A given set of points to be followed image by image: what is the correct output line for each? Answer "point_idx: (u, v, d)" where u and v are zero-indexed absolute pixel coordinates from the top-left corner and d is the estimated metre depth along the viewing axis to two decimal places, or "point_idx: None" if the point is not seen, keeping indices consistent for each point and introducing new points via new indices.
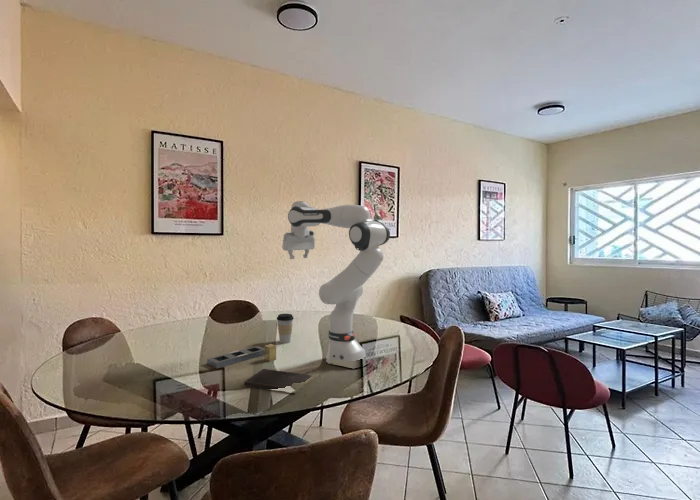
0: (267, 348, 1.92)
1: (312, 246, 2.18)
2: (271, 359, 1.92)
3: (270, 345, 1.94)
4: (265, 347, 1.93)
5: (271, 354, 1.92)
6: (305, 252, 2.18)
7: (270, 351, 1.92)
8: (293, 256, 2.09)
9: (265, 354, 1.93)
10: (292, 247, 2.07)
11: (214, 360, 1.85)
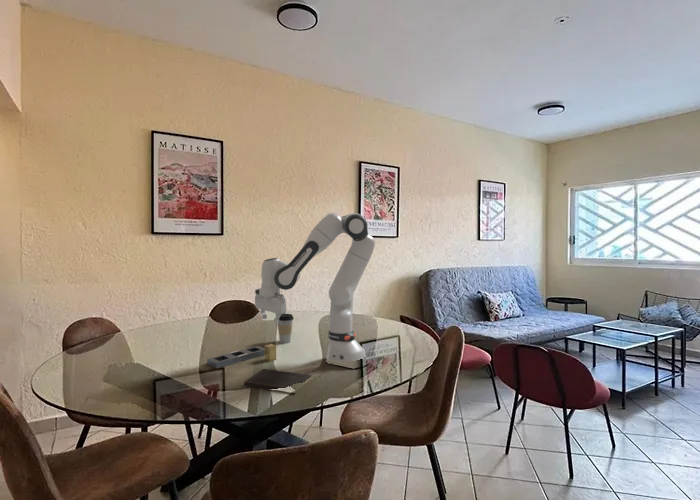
0: (267, 348, 1.92)
1: None
2: (271, 359, 1.92)
3: (270, 345, 1.94)
4: (265, 347, 1.93)
5: (271, 354, 1.92)
6: (262, 312, 1.96)
7: (270, 351, 1.92)
8: None
9: (265, 354, 1.93)
10: None
11: (214, 360, 1.85)
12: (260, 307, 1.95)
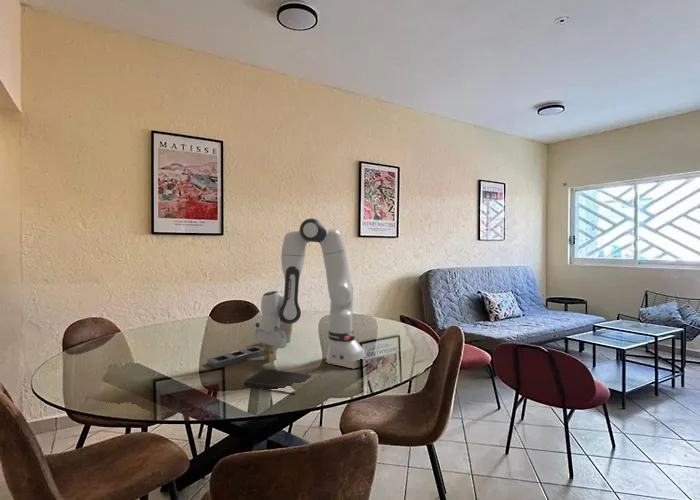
0: (267, 348, 1.92)
1: None
2: (271, 359, 1.92)
3: (270, 345, 1.94)
4: (265, 347, 1.93)
5: (271, 354, 1.92)
6: None
7: (270, 351, 1.92)
8: None
9: (265, 354, 1.93)
10: None
11: (214, 360, 1.85)
12: (260, 340, 1.96)
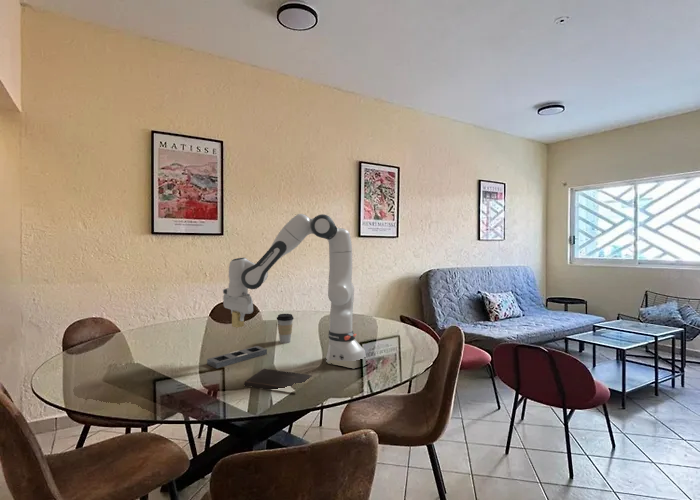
0: (235, 314, 1.91)
1: None
2: (238, 325, 1.92)
3: None
4: (233, 313, 1.93)
5: (238, 320, 1.91)
6: None
7: (237, 317, 1.91)
8: None
9: (232, 320, 1.93)
10: None
11: (214, 360, 1.85)
12: (228, 307, 1.95)
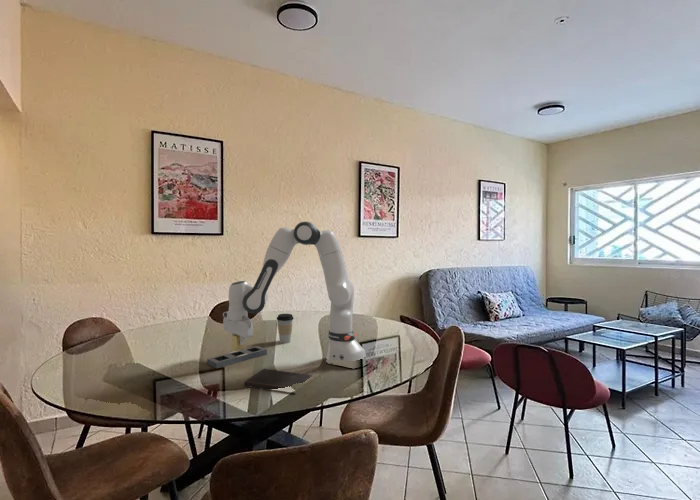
0: (235, 338, 1.92)
1: None
2: (238, 348, 1.92)
3: None
4: (233, 337, 1.93)
5: (238, 343, 1.92)
6: None
7: (237, 341, 1.92)
8: None
9: (233, 344, 1.94)
10: None
11: (214, 360, 1.85)
12: (228, 330, 1.96)
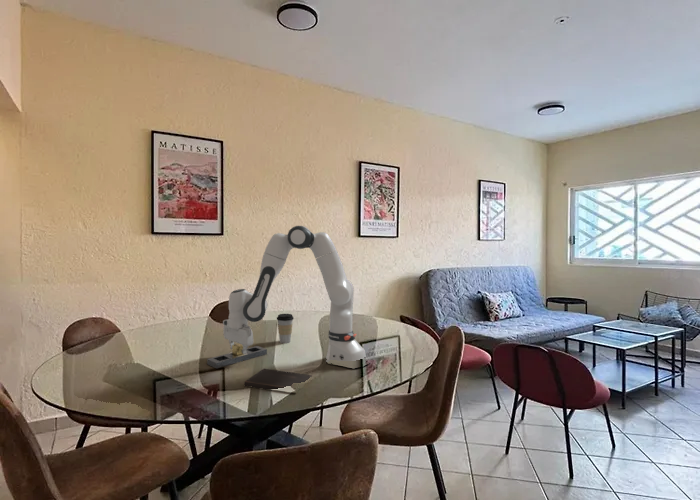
0: (235, 348, 1.92)
1: None
2: None
3: (238, 344, 1.95)
4: (233, 346, 1.94)
5: (238, 353, 1.92)
6: (230, 343, 1.97)
7: (237, 350, 1.92)
8: None
9: (233, 353, 1.94)
10: None
11: (214, 360, 1.85)
12: (228, 338, 1.96)
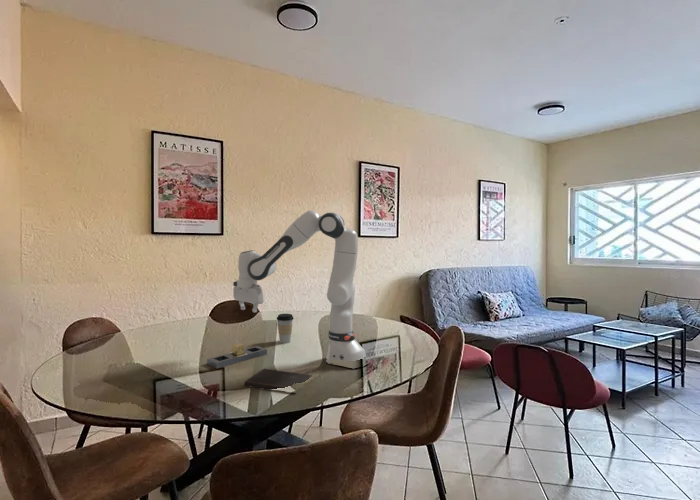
0: (235, 348, 1.92)
1: None
2: None
3: (238, 344, 1.95)
4: (233, 346, 1.94)
5: (238, 353, 1.92)
6: (241, 304, 2.02)
7: (237, 350, 1.92)
8: None
9: (233, 353, 1.94)
10: None
11: (214, 360, 1.85)
12: (238, 299, 2.02)
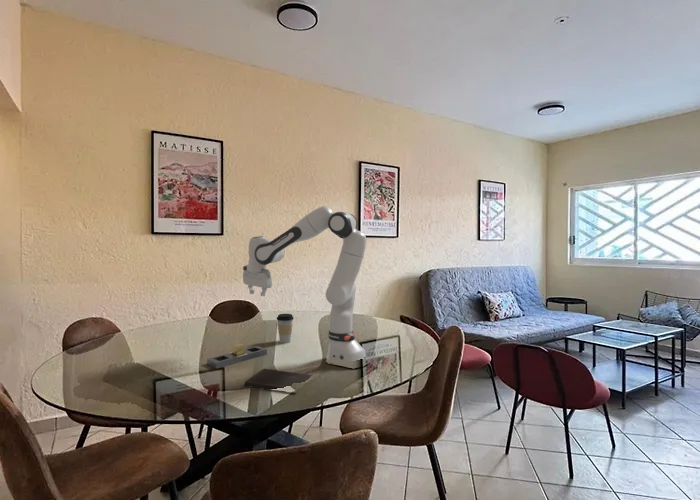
0: (235, 348, 1.92)
1: None
2: None
3: (238, 344, 1.95)
4: (233, 346, 1.94)
5: (238, 353, 1.92)
6: (250, 288, 2.09)
7: (237, 350, 1.92)
8: None
9: (233, 353, 1.94)
10: None
11: (214, 360, 1.85)
12: (248, 283, 2.08)
